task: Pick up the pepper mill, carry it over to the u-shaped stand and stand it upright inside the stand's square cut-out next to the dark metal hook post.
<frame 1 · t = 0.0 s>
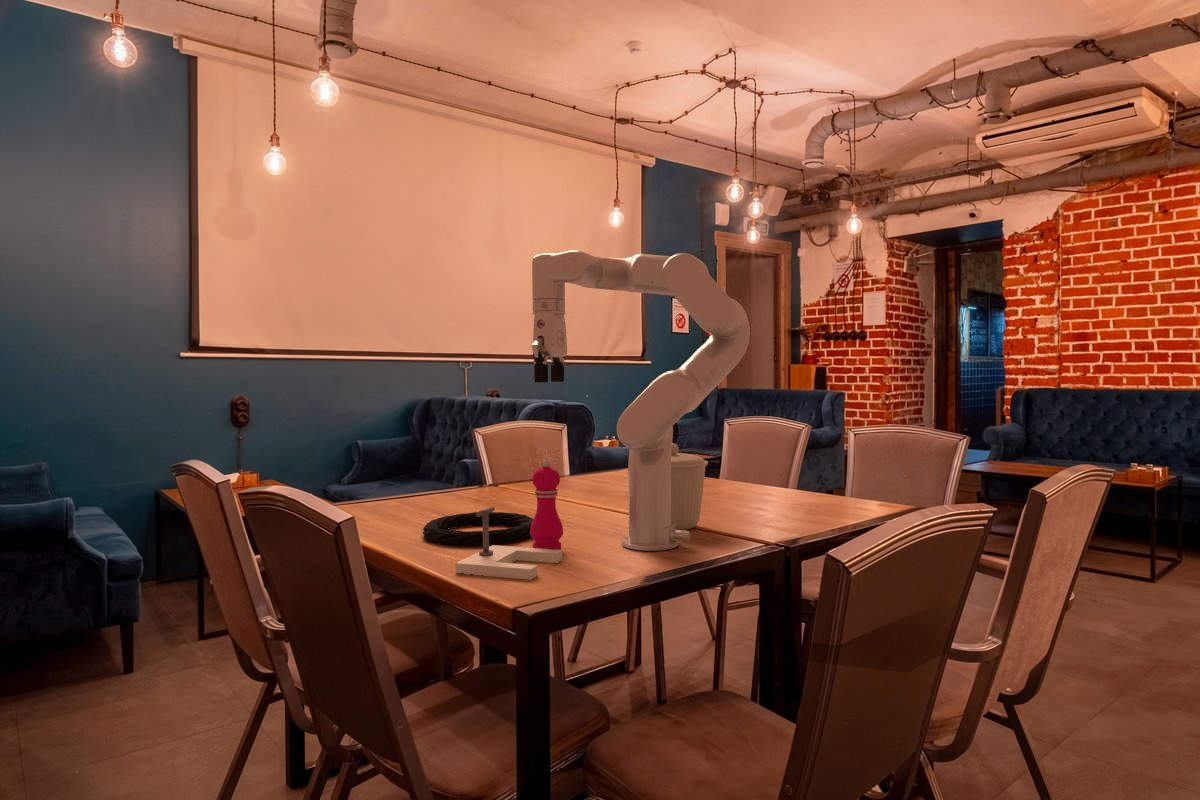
hand: (549, 381, 177), 37 cm above the table, tool pointing down, fingers open, 9 cm apart
cable lock: (486, 536, 184), on the table
canister: (671, 527, 191), on the table
u-shaped stand: (510, 566, 153), on the table
pepper mill: (546, 552, 166), on the table
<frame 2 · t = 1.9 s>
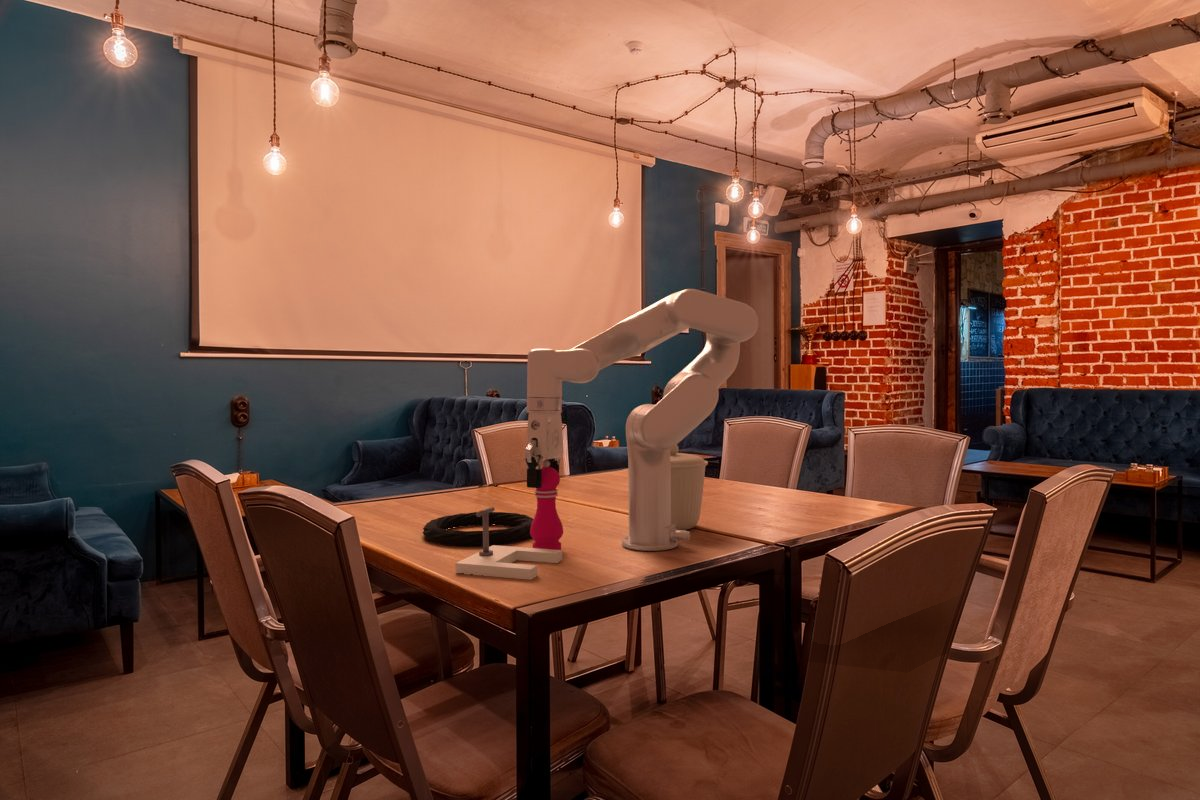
hand: (543, 484, 165), 15 cm above the table, tool pointing down, fingers open, 9 cm apart
nothing on the table moved.
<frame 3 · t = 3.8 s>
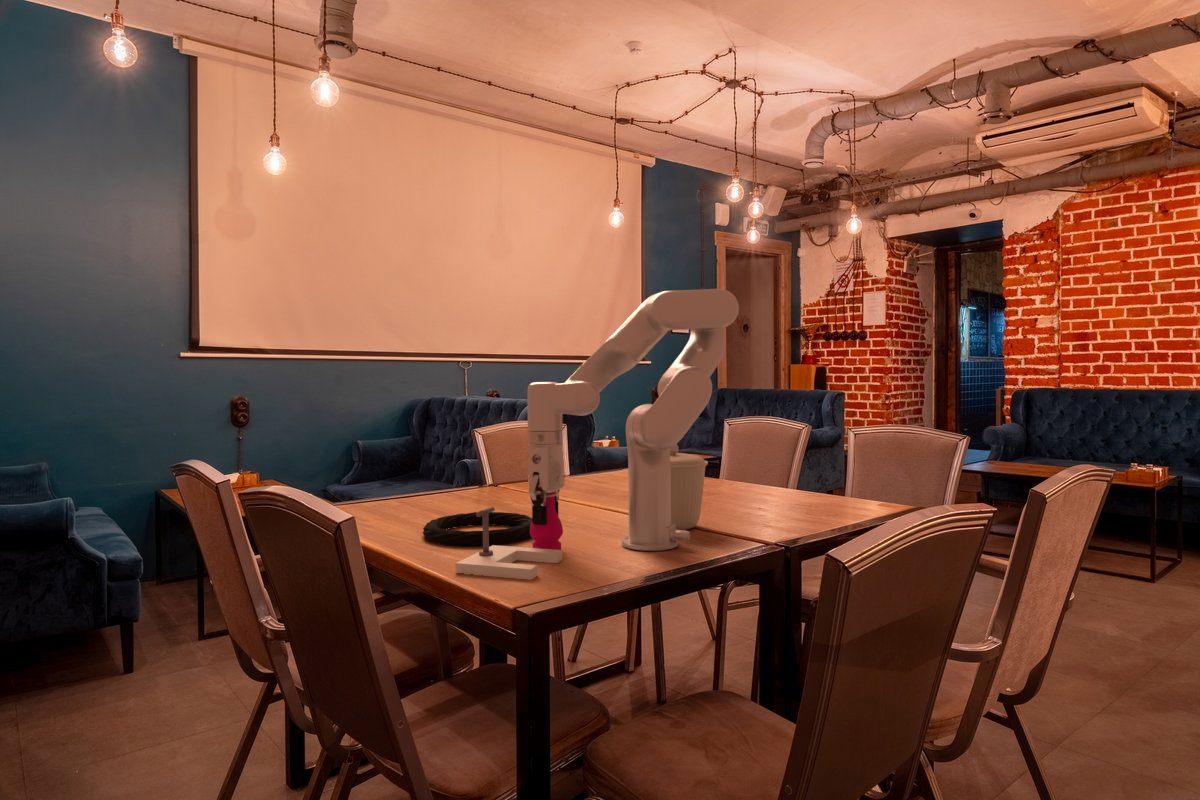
hand: (545, 520, 166), 7 cm above the table, tool pointing down, fingers closed on pepper mill, 5 cm apart
pepper mill: (546, 552, 166), on the table, touching gripper
everything else where it was.
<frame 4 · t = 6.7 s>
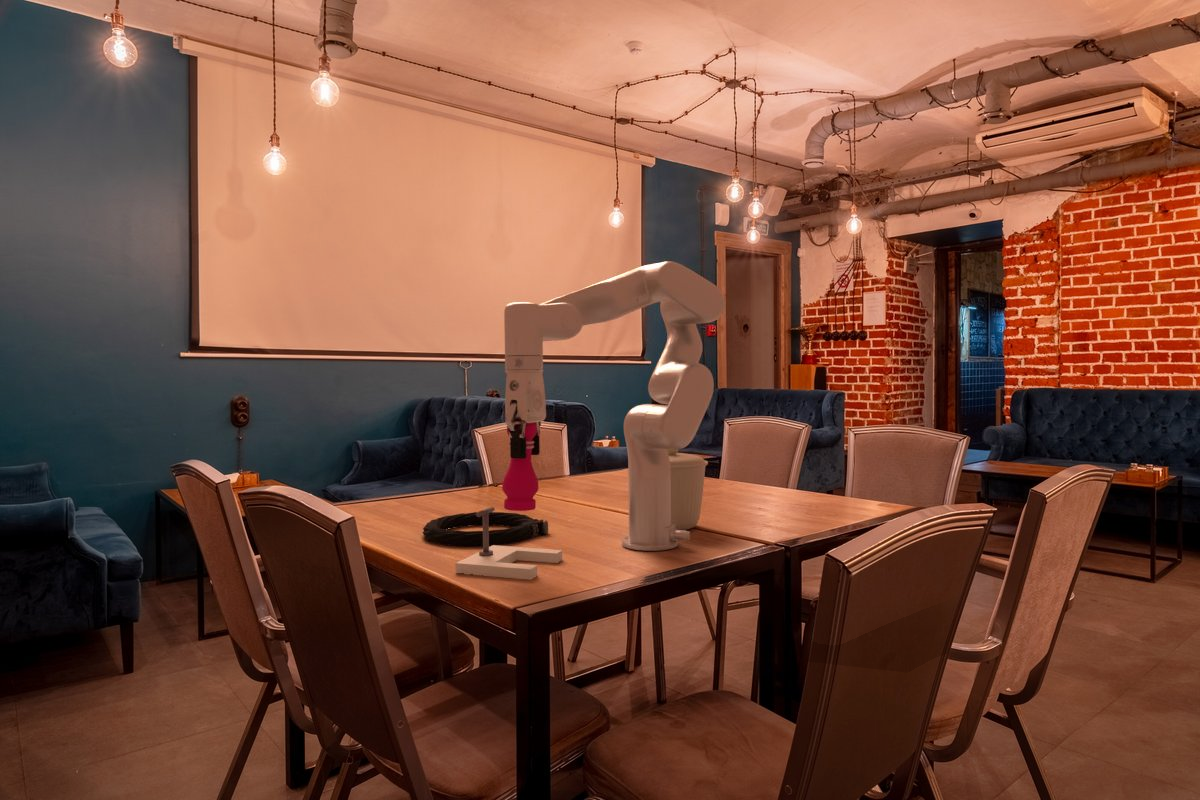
hand: (525, 455, 151), 22 cm above the table, tool pointing down, fingers closed on pepper mill, 5 cm apart
pepper mill: (519, 509, 152), point 12 cm above the table, touching gripper
everything else where it was.
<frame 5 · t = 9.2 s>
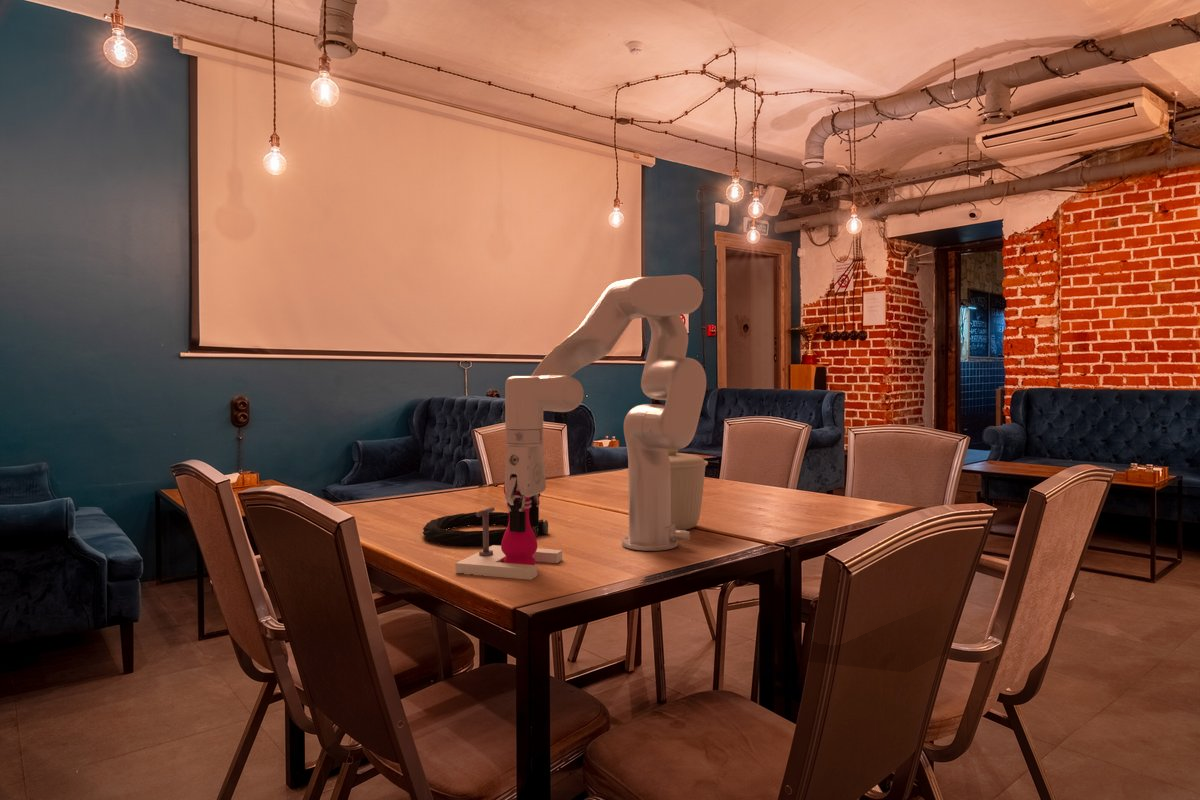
hand: (524, 527, 152), 8 cm above the table, tool pointing down, fingers open, 5 cm apart
pepper mill: (519, 568, 152), resting in u-shaped stand, touching gripper
everything else where it was.
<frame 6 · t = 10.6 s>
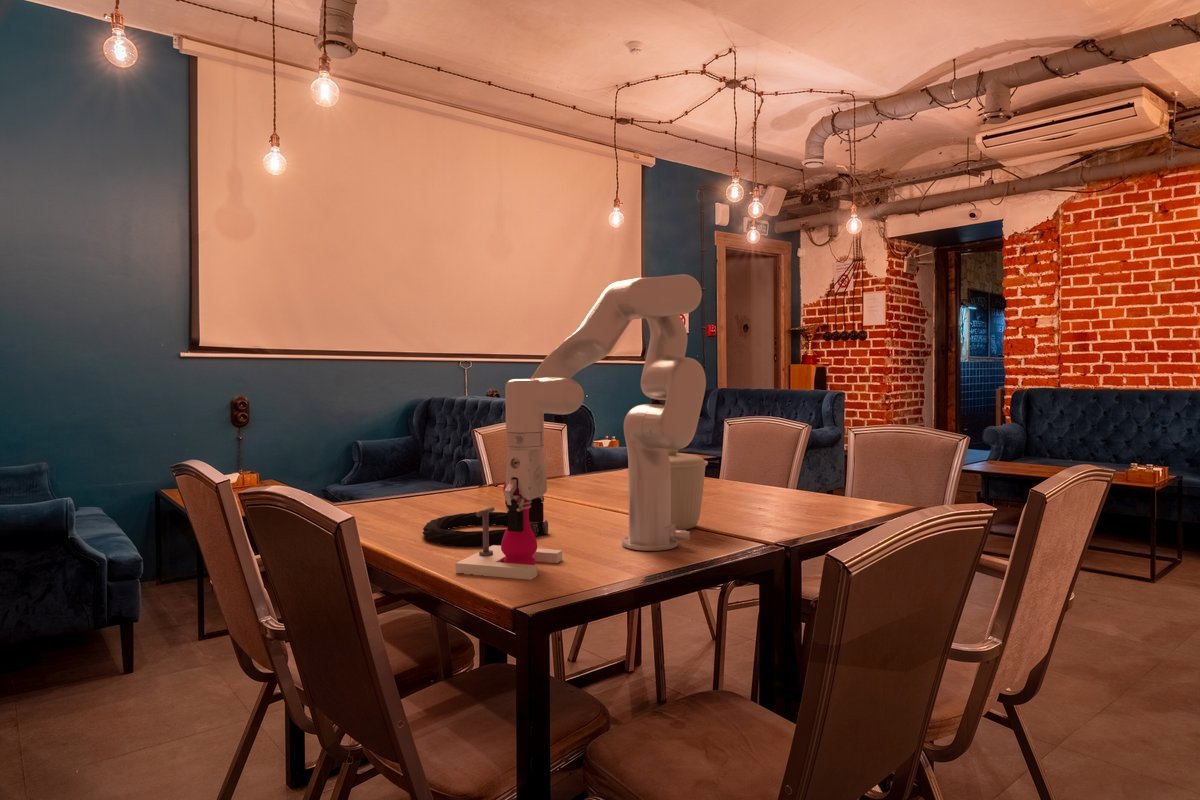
hand: (526, 526, 152), 8 cm above the table, tool pointing down, fingers open, 9 cm apart
pepper mill: (519, 569, 152), resting in u-shaped stand
everything else where it was.
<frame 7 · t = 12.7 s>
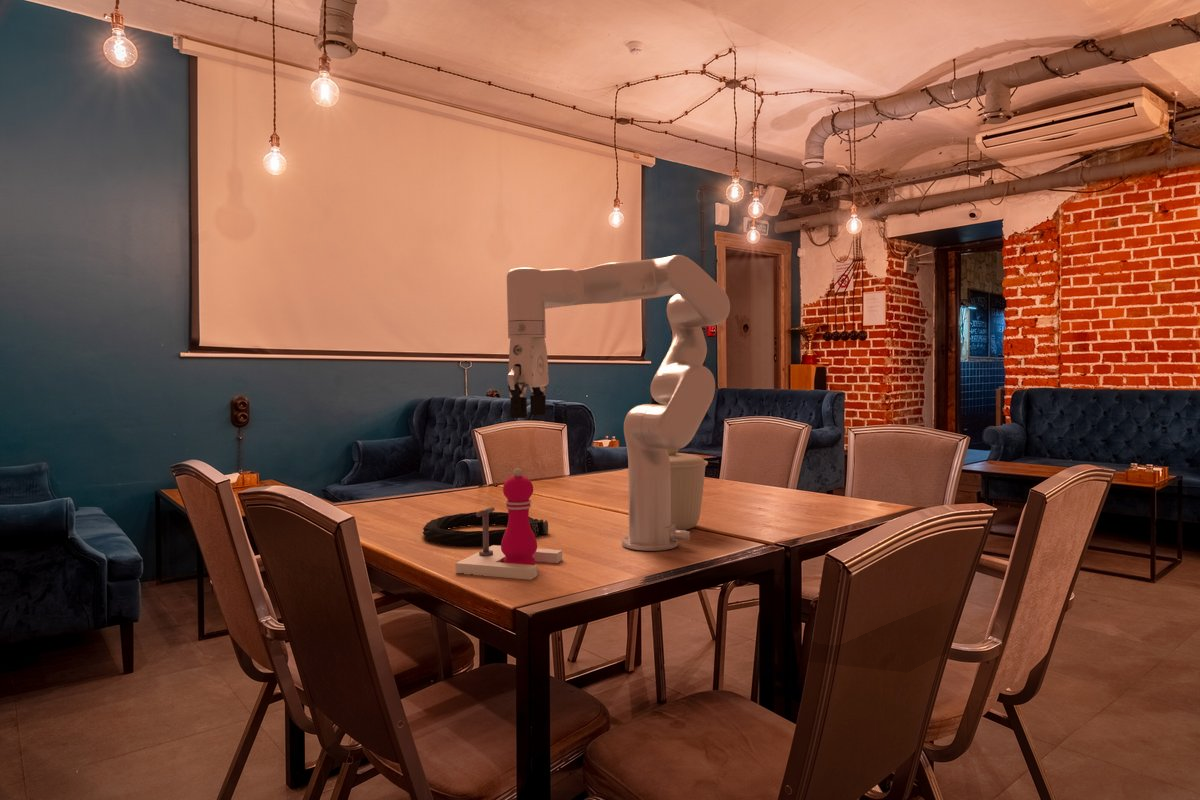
hand: (528, 416, 153), 30 cm above the table, tool pointing down, fingers open, 9 cm apart
nothing on the table moved.
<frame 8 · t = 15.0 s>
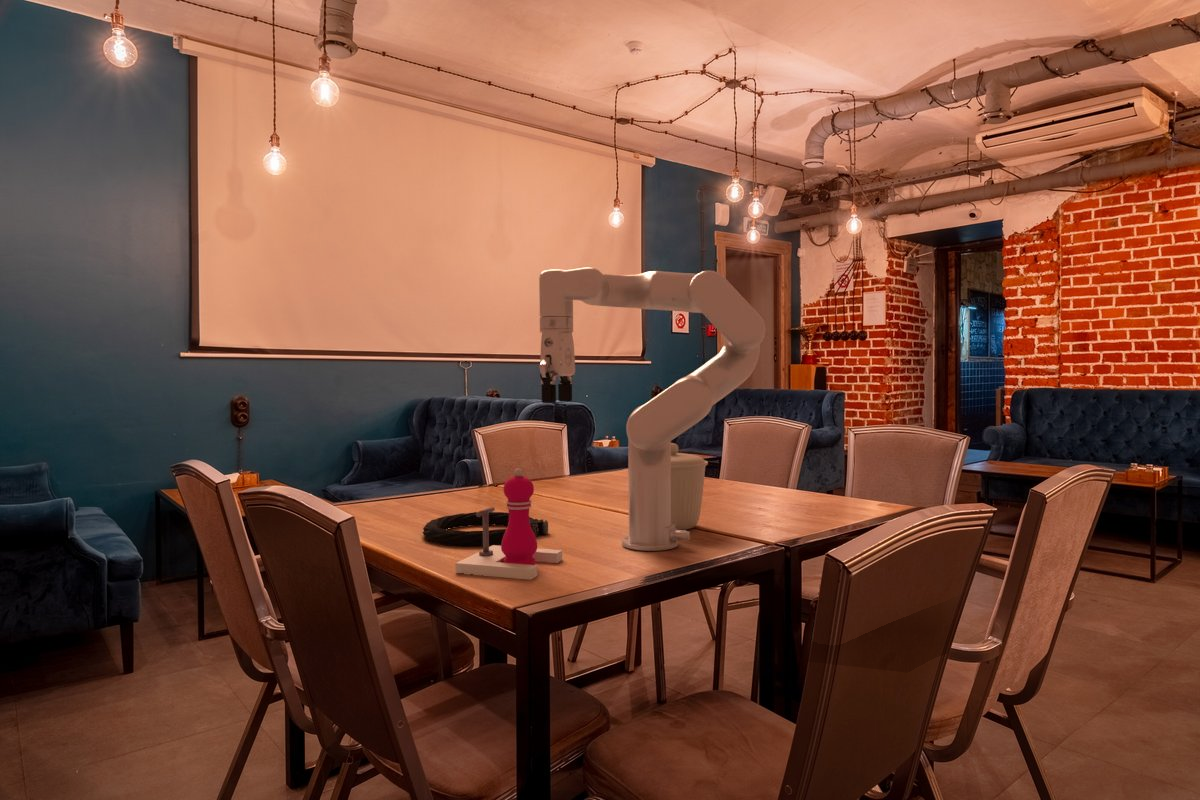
hand: (557, 401, 171), 32 cm above the table, tool pointing down, fingers open, 9 cm apart
nothing on the table moved.
at the end: pepper mill inside the target area on the u-shaped stand (1.4 cm from its centre), point 0.0 cm above the u-shaped stand's base; pepper mill tilted 0°; the gripper is holding nothing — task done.
